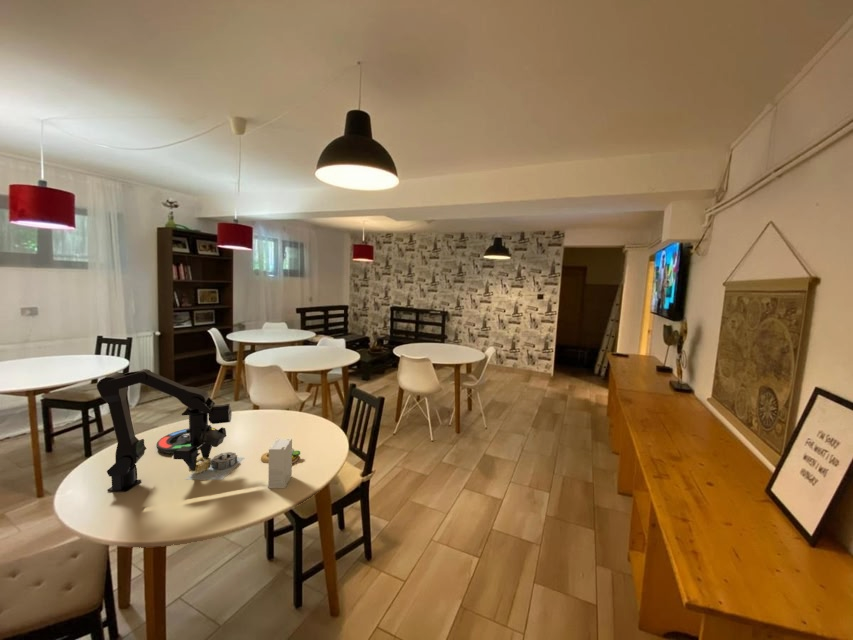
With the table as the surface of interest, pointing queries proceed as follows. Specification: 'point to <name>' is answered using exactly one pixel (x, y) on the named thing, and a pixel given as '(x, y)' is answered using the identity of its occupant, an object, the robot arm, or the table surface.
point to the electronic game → (178, 435)
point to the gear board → (214, 471)
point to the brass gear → (202, 464)
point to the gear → (224, 461)
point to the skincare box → (280, 463)
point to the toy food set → (294, 456)
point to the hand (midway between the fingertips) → (199, 465)
